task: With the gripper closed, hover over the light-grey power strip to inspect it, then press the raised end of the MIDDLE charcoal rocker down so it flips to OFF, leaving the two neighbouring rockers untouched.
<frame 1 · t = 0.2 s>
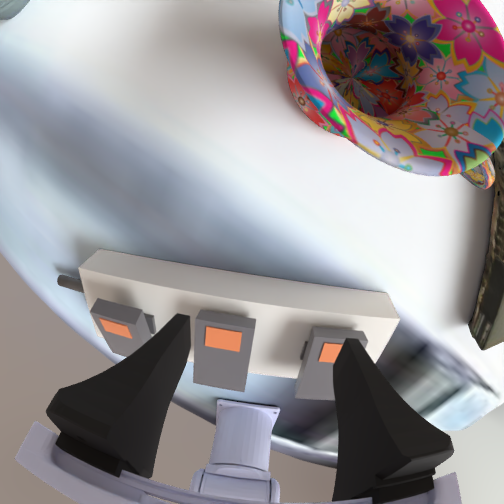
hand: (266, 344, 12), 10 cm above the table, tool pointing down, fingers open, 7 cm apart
power strip: (233, 310, 24), on the table
rocker 2: (222, 353, 19), point 5 cm above the table, hinge at 12.0°
rocker 3: (125, 334, 20), point 5 cm above the table, hinge at -12.0°
rocker 1: (329, 366, 19), point 5 cm above the table, hinge at 12.0°
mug: (364, 93, 15), on the table
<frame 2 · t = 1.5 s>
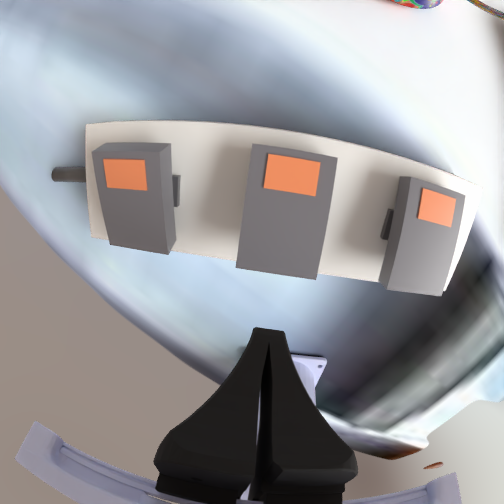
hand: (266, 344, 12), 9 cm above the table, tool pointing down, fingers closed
power strip: (284, 189, 18), on the table
rocker 2: (285, 211, 13), point 5 cm above the table, hinge at 12.0°
rocker 3: (134, 199, 14), point 5 cm above the table, hinge at -12.0°
rocker 1: (424, 238, 13), point 5 cm above the table, hinge at 12.0°
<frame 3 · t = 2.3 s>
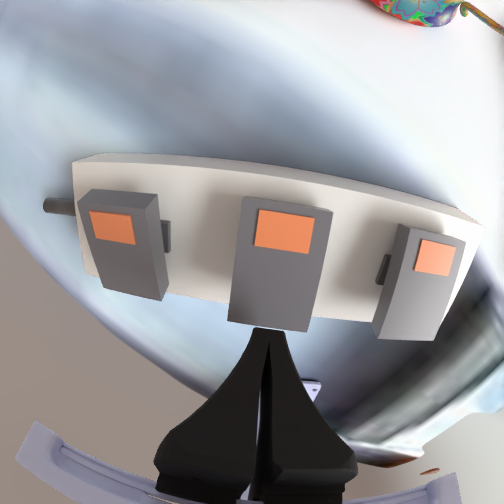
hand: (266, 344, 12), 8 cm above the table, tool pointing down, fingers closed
power strip: (278, 227, 18), on the table
rocker 2: (277, 266, 13), point 5 cm above the table, hinge at 12.0°
rocker 3: (124, 247, 14), point 5 cm above the table, hinge at -12.0°
rocker 1: (420, 286, 13), point 5 cm above the table, hinge at 12.0°
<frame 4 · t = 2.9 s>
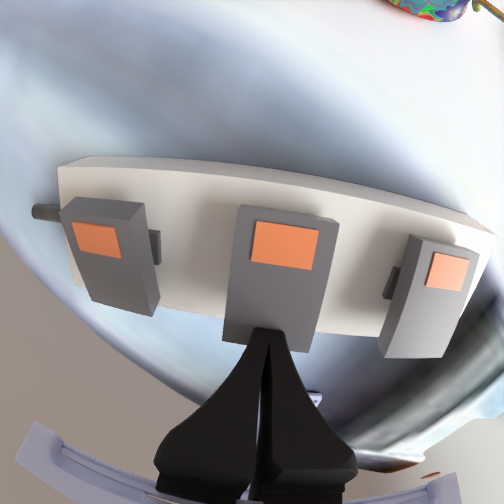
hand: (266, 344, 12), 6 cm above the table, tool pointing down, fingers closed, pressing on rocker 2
power strip: (278, 236, 17), on the table
rocker 2: (277, 282, 12), point 5 cm above the table, hinge at 12.0°, touching gripper
rocker 3: (111, 260, 12), point 5 cm above the table, hinge at -12.0°
rocker 1: (430, 301, 12), point 5 cm above the table, hinge at 12.0°
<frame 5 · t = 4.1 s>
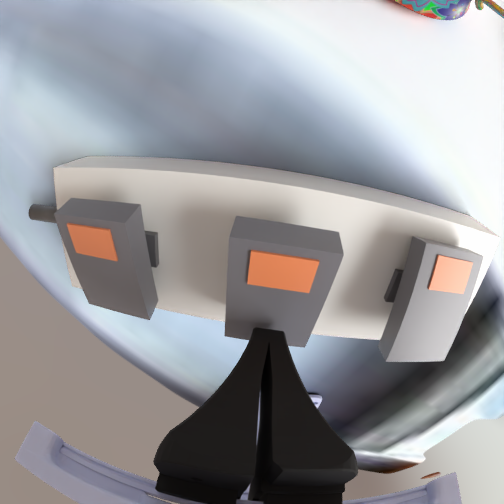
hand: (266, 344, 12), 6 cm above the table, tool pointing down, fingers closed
power strip: (278, 237, 16), on the table
rocker 2: (275, 292, 12), point 5 cm above the table, hinge at -11.4°
rocker 3: (108, 262, 12), point 5 cm above the table, hinge at -12.0°
rocker 1: (433, 304, 11), point 5 cm above the table, hinge at 12.0°
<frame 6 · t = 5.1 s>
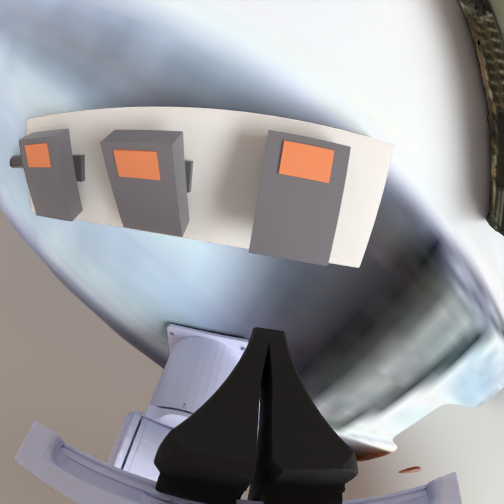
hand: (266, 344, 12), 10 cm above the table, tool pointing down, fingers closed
power strip: (180, 163, 18), on the table
rocker 2: (147, 185, 14), point 5 cm above the table, hinge at -22.5°, touching power strip
rocker 3: (48, 175, 14), point 5 cm above the table, hinge at -12.0°
rocker 1: (299, 197, 13), point 5 cm above the table, hinge at 12.0°
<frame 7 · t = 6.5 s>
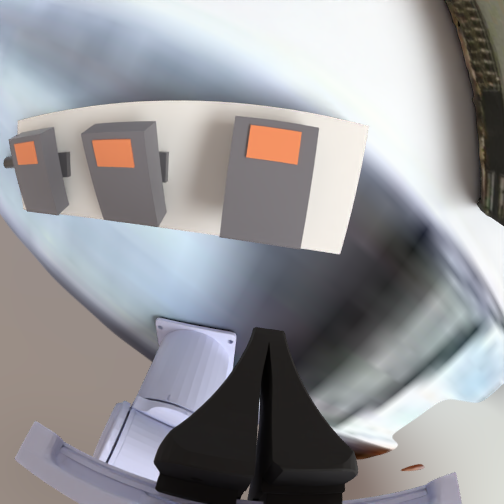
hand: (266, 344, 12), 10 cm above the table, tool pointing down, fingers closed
power strip: (161, 156, 18), on the table
rocker 2: (124, 175, 14), point 5 cm above the table, hinge at -19.0°
rocker 3: (36, 172, 14), point 5 cm above the table, hinge at -12.0°
rocker 1: (269, 181, 13), point 5 cm above the table, hinge at 12.0°
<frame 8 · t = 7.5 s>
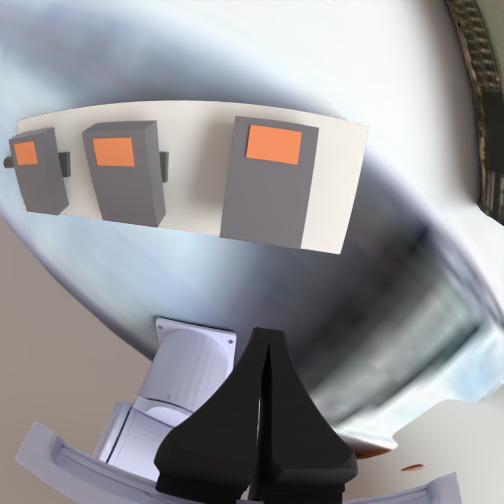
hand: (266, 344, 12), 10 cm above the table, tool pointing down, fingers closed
power strip: (161, 156, 18), on the table
rocker 2: (124, 175, 14), point 5 cm above the table, hinge at -17.1°
rocker 3: (36, 172, 14), point 5 cm above the table, hinge at -12.0°
rocker 1: (269, 181, 13), point 5 cm above the table, hinge at 12.0°
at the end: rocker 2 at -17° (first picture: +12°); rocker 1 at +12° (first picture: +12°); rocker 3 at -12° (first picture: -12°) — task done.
